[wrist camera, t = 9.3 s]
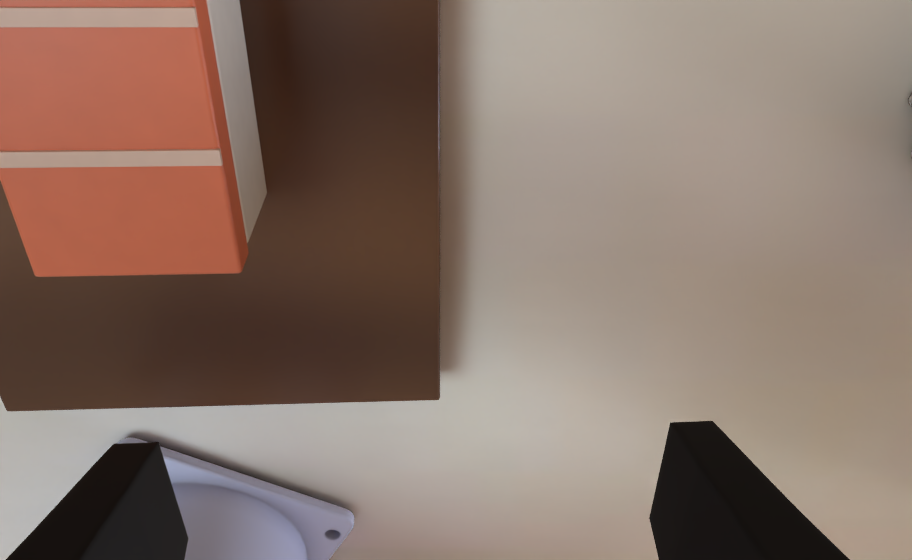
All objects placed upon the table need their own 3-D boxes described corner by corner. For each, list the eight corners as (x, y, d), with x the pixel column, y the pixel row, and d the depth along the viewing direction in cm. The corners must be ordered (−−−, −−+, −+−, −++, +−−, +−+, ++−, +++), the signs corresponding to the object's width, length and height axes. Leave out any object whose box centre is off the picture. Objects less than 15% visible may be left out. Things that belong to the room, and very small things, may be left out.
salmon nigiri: (269, 201, 17) (241, 276, 14) (94, 204, 17) (32, 281, 14) (216, -171, 13) (163, -168, 10) (-15, -174, 13) (-133, -171, 10)
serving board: (438, 373, 21) (439, 400, 20) (25, 383, 21) (6, 412, 20) (437, -664, 11) (440, -714, 10) (-419, -707, 10) (-510, -764, 9)
